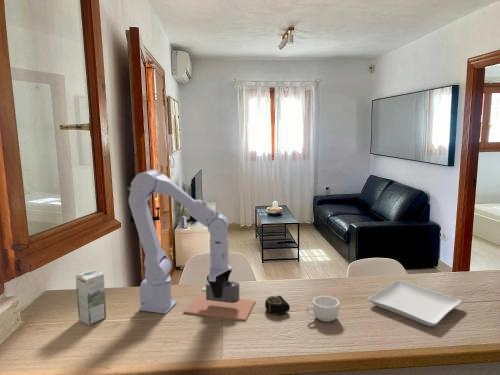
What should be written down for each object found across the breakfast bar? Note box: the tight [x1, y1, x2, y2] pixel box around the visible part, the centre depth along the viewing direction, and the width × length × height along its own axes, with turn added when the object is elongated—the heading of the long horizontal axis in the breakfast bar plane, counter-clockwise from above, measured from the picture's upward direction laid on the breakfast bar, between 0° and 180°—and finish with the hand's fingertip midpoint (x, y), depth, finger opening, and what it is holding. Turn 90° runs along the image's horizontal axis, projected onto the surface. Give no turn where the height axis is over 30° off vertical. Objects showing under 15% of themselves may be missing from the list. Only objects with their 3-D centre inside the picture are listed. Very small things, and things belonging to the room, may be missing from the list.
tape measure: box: [264, 295, 291, 315], centre depth 112 cm, size 7×7×4 cm
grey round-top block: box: [201, 280, 241, 303], centre depth 114 cm, size 12×4×5 cm, turn 76°
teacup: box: [306, 295, 340, 323], centre depth 107 cm, size 10×8×5 cm
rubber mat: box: [183, 294, 256, 322], centre depth 114 cm, size 20×12×1 cm, turn 76°
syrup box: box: [75, 269, 107, 327], centre depth 107 cm, size 6×6×14 cm
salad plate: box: [367, 279, 462, 327], centre depth 114 cm, size 21×21×3 cm
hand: (220, 294), depth 114 cm, fingers closed on grey round-top block, 4 cm apart
